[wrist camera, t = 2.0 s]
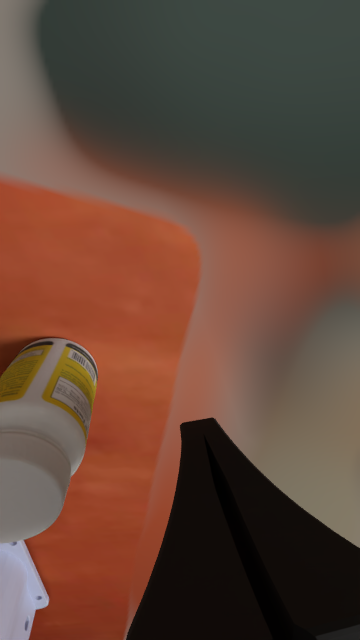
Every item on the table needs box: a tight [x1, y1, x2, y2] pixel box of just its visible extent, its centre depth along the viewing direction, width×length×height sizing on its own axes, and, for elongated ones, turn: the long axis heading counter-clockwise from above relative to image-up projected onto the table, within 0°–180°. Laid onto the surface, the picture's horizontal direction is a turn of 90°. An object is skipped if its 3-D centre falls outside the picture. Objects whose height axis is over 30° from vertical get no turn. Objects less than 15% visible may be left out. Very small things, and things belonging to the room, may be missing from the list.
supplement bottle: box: [0, 338, 98, 543], centre depth 14 cm, size 5×5×8 cm
